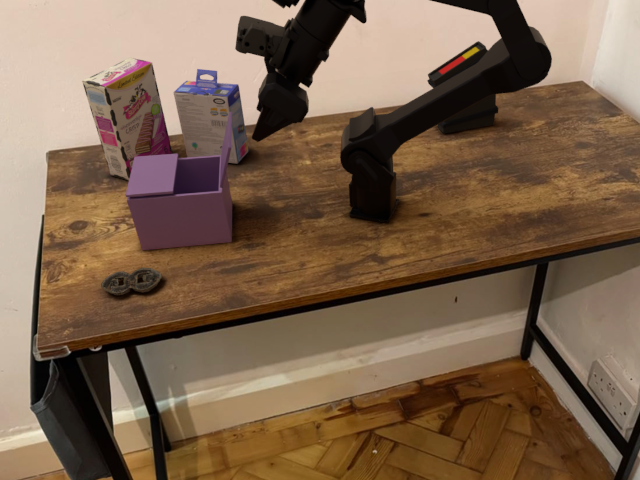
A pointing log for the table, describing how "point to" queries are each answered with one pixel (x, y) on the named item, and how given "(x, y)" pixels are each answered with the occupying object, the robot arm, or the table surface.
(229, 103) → the ink cartridge box
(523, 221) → the table surface
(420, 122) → the robot arm
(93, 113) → the candy bar box
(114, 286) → the corroded twin loop
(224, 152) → the flap
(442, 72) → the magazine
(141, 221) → the box
